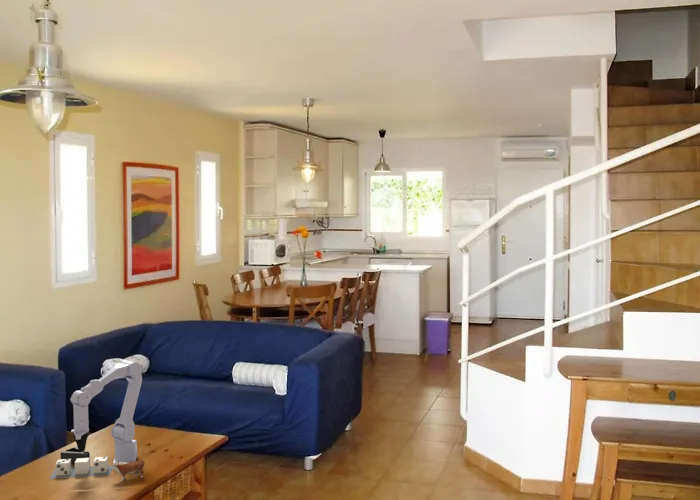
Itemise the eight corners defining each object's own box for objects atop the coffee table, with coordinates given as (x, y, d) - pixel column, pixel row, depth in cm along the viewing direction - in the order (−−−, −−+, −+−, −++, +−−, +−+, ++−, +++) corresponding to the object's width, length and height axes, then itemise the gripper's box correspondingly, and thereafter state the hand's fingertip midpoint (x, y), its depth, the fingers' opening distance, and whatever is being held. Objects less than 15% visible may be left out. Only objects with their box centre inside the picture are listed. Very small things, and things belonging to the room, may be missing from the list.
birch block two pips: (108, 468, 309) (107, 456, 309) (106, 472, 304) (105, 460, 304) (95, 468, 308) (95, 457, 308) (93, 473, 303) (93, 461, 303)
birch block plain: (89, 469, 308) (89, 457, 308) (87, 473, 303) (87, 461, 303) (77, 470, 307) (77, 458, 307) (74, 474, 302) (74, 462, 302)
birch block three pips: (71, 470, 306) (70, 458, 306) (68, 474, 301) (68, 462, 301) (58, 471, 306) (58, 459, 305) (55, 475, 301) (55, 463, 300)
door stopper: (60, 465, 314) (80, 470, 309) (60, 452, 313) (80, 456, 308) (76, 459, 322) (96, 463, 317) (76, 446, 322) (96, 450, 316)
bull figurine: (110, 480, 297) (110, 460, 296) (144, 475, 302) (143, 456, 302) (111, 484, 293) (111, 464, 292) (145, 478, 298) (145, 459, 298)
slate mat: (114, 466, 313) (114, 465, 313) (109, 476, 301) (109, 475, 301) (55, 470, 309) (55, 468, 309) (49, 480, 297) (48, 478, 297)
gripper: (74, 415, 310) (75, 446, 311) (67, 425, 296) (68, 457, 297) (91, 414, 311) (92, 445, 312) (85, 424, 297) (86, 456, 298)
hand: (81, 451), depth 304 cm, fingers closed
